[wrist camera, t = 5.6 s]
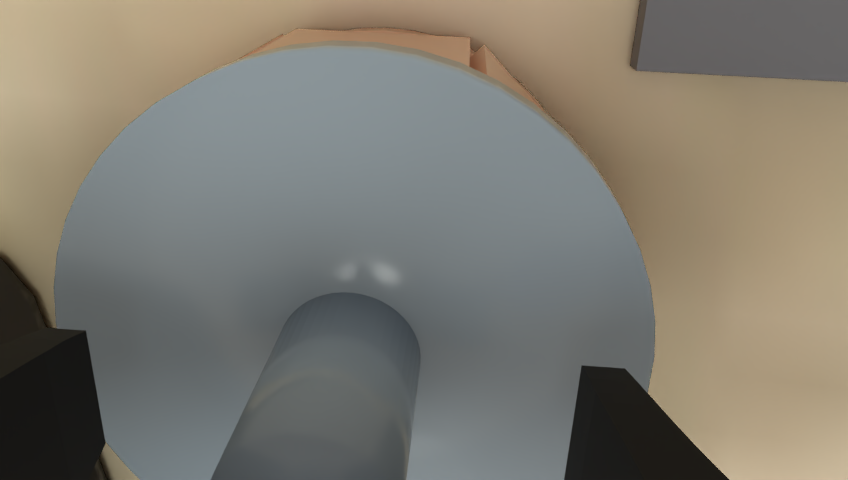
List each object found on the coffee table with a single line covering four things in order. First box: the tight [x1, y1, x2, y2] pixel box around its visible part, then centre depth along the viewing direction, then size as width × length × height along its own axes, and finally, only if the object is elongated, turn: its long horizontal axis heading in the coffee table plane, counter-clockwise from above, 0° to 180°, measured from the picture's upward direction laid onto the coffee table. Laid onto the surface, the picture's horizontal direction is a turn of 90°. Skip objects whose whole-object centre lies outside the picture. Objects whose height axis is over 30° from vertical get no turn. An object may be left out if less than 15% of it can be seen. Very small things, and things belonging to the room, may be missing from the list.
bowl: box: [239, 28, 548, 115], centre depth 15 cm, size 9×9×4 cm
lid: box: [54, 40, 655, 480], centre depth 11 cm, size 10×10×4 cm
